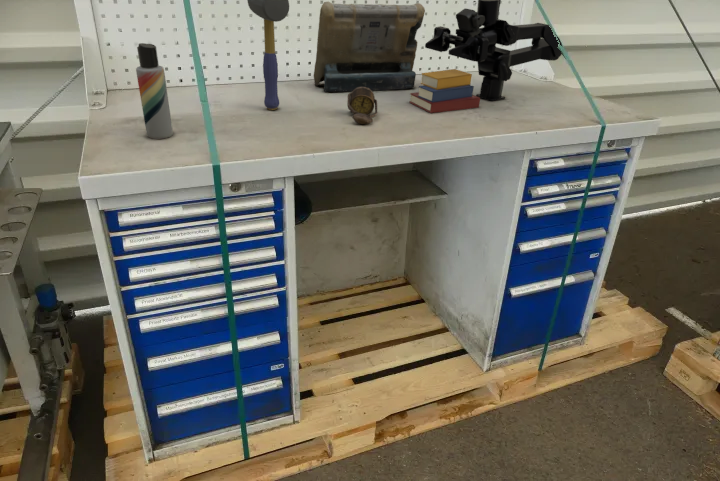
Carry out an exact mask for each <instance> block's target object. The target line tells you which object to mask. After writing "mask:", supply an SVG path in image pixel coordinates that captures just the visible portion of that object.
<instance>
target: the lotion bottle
mask: <svg viewBox="0 0 720 481" xmlns="http://www.w3.org/2000/svg"><path fill="white" fill-rule="evenodd" d="M136 49H137V50H136V51H137V55H138V61H139V66H137V67H136V68H135V72H136V78H137V79H136V80H137V84H138V85H137V86H138V91H139V97H140V102H141V108H142V115H143V121H144V126H145V132H146V135H147V136H146V137H148V138H149V139H154V140H163V139H168V138H170V137H172V136H173V133H174V130H173V123H172V115H171V108H170V102H169V101H170V100H169V95H168V87H167V80H166V73H165V68H164V67H163V66H162V65H159V64H160V63H159V57H158V50H157V45H155V44H152V43H143V42H142V43H141V42H140V43H138V46H137V47H136Z"/></svg>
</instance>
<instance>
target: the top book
mask: <svg viewBox="0 0 720 481" xmlns="http://www.w3.org/2000/svg"><path fill="white" fill-rule="evenodd" d="M472 76H473V73H469V72H466V71H463V70H461V69H460V70H459V69H457V68H452V69H445V70H436V71H428V72H421V80H420V85H421V86H424V85H425V86H428V87H431V88H433V89H436V90H439V89H446V88H452V87H459V86H466V85H471V83H472Z"/></svg>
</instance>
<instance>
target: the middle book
mask: <svg viewBox="0 0 720 481" xmlns="http://www.w3.org/2000/svg"><path fill="white" fill-rule="evenodd" d="M474 87H475V86H474V85H471V84H470V85H466V86H459V87H452V88H446V89H439V90H436V89H433V88H431V87H428V86H425V85H419V86H418V88H419V89H418V92H419V96H418V97H420V98H422V99H425V100H427V101H429V102H432V103H433V102H440V101H446V100H453V99H460V98H466V97H472V95H473V94H474V93H473V92H474Z"/></svg>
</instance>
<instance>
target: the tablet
mask: <svg viewBox="0 0 720 481" xmlns="http://www.w3.org/2000/svg"><path fill="white" fill-rule="evenodd" d="M425 14H426V9H425V7H424V6H423V4H422V3H419V2H417V3H413V4H383V3H378V4H374V3H373V4H372V3H371V4H369V3H368V4H367V3H365V4H364V3H349V4H347V3H332V2H330V1H323V3H322V5H321V6H320V10H319V17H318V20H319V21H318V29H317V42H316V54H315V62H314V68H313V69H314V71H313V80H314V85H315V86H319V85H320V83H322V82H324V84H323V92H324V93H331V92H332V93H333V92H352V91H353V90H354V89H356V88H358V87H367V88H369V89H371V91H372V92H373V91H391V90H407V89H415V88H416V87H415V83H416V76H417V73H416V71H414V70H413V69H414V66H415V60H416V55H417V54H416V52H417V51H418V50H417V49H418V40H417V39H416V36H417V33H418V30H419V29H420V28H421V27H422V24H423V20H424V16H425Z"/></svg>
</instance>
